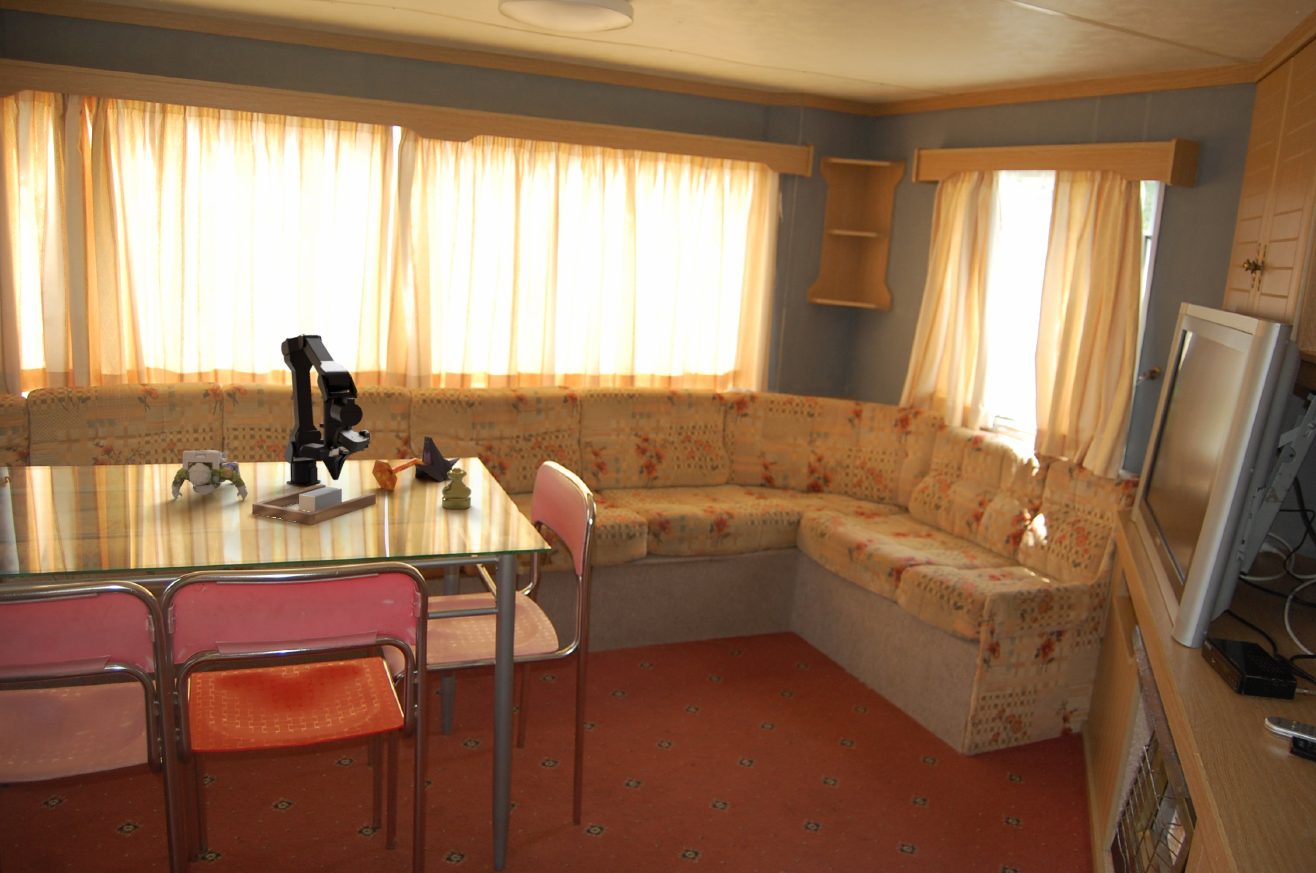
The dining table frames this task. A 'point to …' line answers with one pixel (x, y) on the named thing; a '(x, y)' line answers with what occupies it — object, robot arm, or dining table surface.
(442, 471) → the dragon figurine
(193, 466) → the toy
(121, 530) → the dining table surface
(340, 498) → the long block
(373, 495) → the rail pen
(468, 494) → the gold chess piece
